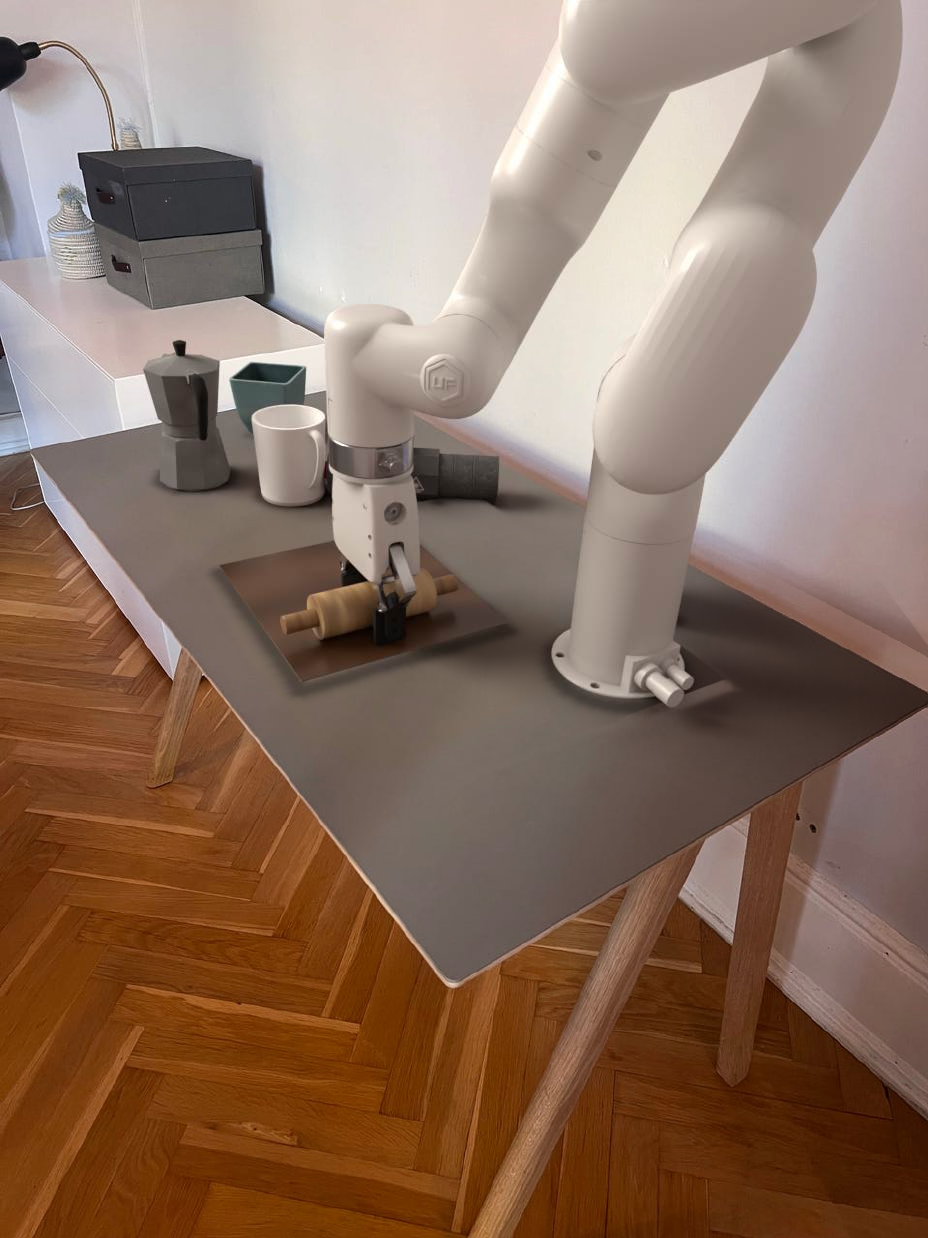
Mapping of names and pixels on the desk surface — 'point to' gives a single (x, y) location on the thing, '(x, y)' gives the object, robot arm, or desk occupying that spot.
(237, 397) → the flower pot
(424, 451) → the laser sight
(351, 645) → the pastry board
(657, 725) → the desk surface
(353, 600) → the rolling pin
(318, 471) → the mug
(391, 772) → the desk surface
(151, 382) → the coffeepot
